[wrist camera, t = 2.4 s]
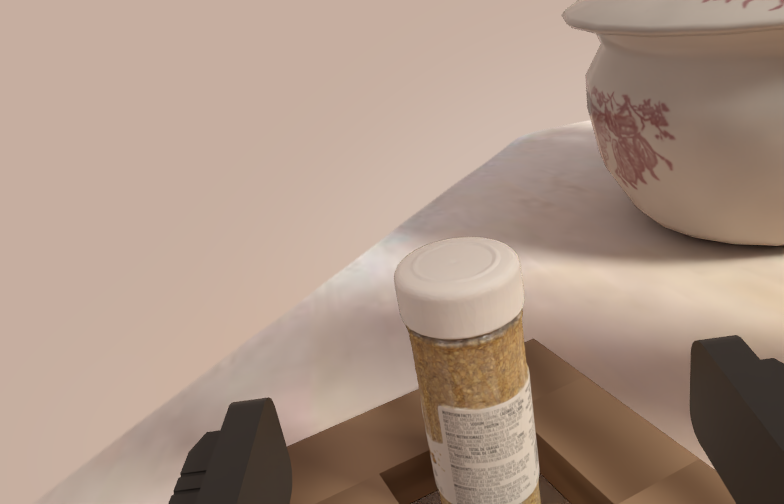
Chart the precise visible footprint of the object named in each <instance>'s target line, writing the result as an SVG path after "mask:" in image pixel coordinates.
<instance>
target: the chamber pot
mask: <svg viewBox="0 0 784 504" xmlns="http://www.w3.org/2000/svg"><path fill="white" fill-rule="evenodd" d="M562 17H563V19H564V20H565V22H566V23H567V24H568V25H569V26H571V27H572V28H575V29H579V30H584V31H587V32H592V33H596V34H597V36H598V39H599V41H600V43H601V45H600V46H599V49H598V51H597V53H596V55H595V57H594V59H593V61H592V63H591V65H590V67H589V69H588V71H587V73H586V91H587V108H588V112H589V115H590V119H591V123H592V126H593V130H594V134H595V137H596V141H597V145H598V148H599V152H600V154H601V157H602V159H603V161H604V164H605V166H606V168H607V169H608V170H609V172H610V173H611V174H612V176H613V177H614V178H615V180H616V181H617V182H618V184H619V185H620V186H621V188H622V189H623V190H624V192H625V193H626V194H627V196H628V197H629V198H630V200H631V201H632V202H633V204H634V205H635V206H636V207H637V208H638V209H639V210H641V211H642V212H643V213H644V214H646V215H647V216H649V217H650V218H651V219H653V220H654V221H656V222H657V223H659V224H660V225H662V226H663V227H665V228H668V229H671V230H674V231H677V232H680V233H683V234H685V235H688V236H691V237H694V238H700V239H706V240H712V241H718V242H724V243H730V244H745V245H772V246H780V245H784V0H578V1H576V2H575V3H574V4H572V5H571V6H570V7H569V8H567V9H566V10H565V11H564V12H563V14H562Z"/></svg>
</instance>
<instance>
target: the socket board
mask: <svg viewBox="0 0 784 504" xmlns="http://www.w3.org/2000/svg"><path fill="white" fill-rule="evenodd" d="M524 346H525V356H526V363H527V365H528V368H529V374H530V384H531V394H532V404H533V413H534V423H535V432H536V441H537V450H538V461H539V472H540V473H541V474H542V475H543V476H544V477H545V478H546V479H547V480H548V481H549V482H550V483H551V484H552V485H553V486H554V487H555V488H556V489H557V490H558V491H559V492H560V493H561V494H562V495H563V496H564V497H565V498H566V499H567V500H568V501H569V502H570V503H571V504H736V503H735V501H734V499H733V498H732V496H731V494H730V493H729V491H728V489H727V488H726V486H725V484H724V483H723V481H722V479H721V478H720V476H719V474H718V473H717V471H716V470H714V469H713V468H712V467H710V466H709V465H707V464H706V463H705V462H703V461H702V460H700V459H699V458H698V457H696V456H695V455H694V454H692V453H691V452H689V451H688V450H687V449H685V448H684V447H683V446H681V445H680V444H678V443H677V442H676V441H674V440H673V439H672V438H670V437H669V436H667V435H666V434H665V433H663V432H662V431H660V430H659V429H658V428H656V427H655V426H654V425H652V424H651V423H649V422H648V421H647V420H645V419H644V418H643V417H641V416H640V415H638V414H637V413H636V412H634V411H633V410H632V409H630V408H629V407H627V406H626V405H625V404H623V403H622V402H620V401H619V400H618V399H616V398H615V397H614V396H612V395H611V394H609V393H608V392H607V391H605V390H604V389H603V388H601V387H600V386H598V385H597V384H596V383H594V382H593V381H592V380H590V379H589V378H587V377H586V376H585V375H583V374H582V373H580V372H579V371H578V370H576V369H575V368H574V367H572V366H571V365H569V364H568V363H567V362H565V361H564V360H563V359H561V358H560V357H558V356H557V355H556V354H554V353H553V352H551V351H550V350H549V349H547V348H546V347H545V346H543V345H542V344H540V343H539V342H538V341H536V340H535V339H532V340H529V341H527V342H525V343H524ZM287 450H288V453H289V457H290V461H291V467H292V494H291V499H290V504H410V503H412V502H414V501H416V500H418V499H420V498H422V497H424V496H426V495H428V494H430V493H432V492H434V491H436V490H438V488H437V485H436V482H435V477H434V472H433V467H432V461H431V456H430V450H429V445H428V440H427V435H426V428H425V421H424V418H423V413H422V406H421V395H420V390H419V389H418V390H415V391H413V392H411V393H408V394H406V395H404V396H402V397H399V398H397V399H395V400H392V401H390V402H388V403H386V404H383V405H381V406H379V407H377V408H374V409H372V410H370V411H367V412H365V413H363V414H361V415H358V416H356V417H354V418H351V419H349V420H347V421H345V422H342V423H340V424H338V425H335V426H333V427H331V428H329V429H326V430H324V431H322V432H319V433H317V434H315V435H313V436H310V437H308V438H306V439H303V440H301V441H299V442H297V443H294V444H292V445H290V446H288V447H287Z"/></svg>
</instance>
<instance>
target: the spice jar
mask: <svg viewBox="0 0 784 504" xmlns="http://www.w3.org/2000/svg"><path fill="white" fill-rule="evenodd" d="M394 282H395V289H396V295H397V300H398V305H399V310H400V315H401V318H402V321H403V322H404V323H405V325H406V327H407V329H408V332H409V334H410V335H409V337H410V341H411V345H412V350H413V355H414V362H415V367H416V368H415V369H416V373H417V379H418V384H419V390H420V395H421V406H422V413H423V418H424V421H425V428H426V435H427V440H428V445H429V450H430V456H431V461H432V467H433V472H434V477H435V482H436V485H437V488H438V489H439V494H440V499H441V503H442V504H541V500H540V491H539V481H538V480H539V461H538V450H537V441H536V432H535V423H534V413H533V404H532V394H531V384H530V374H529V368H528V365H527V363H526V356H525V346H524V338H523V328H522V320H521V318H522V315H523V311H522V307H523V305H524V299H525V297H524V288H523V279H522V272H521V266H520V261H519V258H518V255H517V254H516V252H515V251H514V250H513V249H512V248H511V247H509V246H508V245H506V244H504V243H502V242H499V241H497V240H493V239H488V238H482V237H458V238H451V239H445V240H441V241H437V242H434V243H431V244H428V245H425V246H423V247H421V248H419V249H417V250H415V251H413V252H412V253H410V254H409V255H407V256H406V257H405V258H404V259H403V260H402V261H401V262H400V263H399V264H398V266H397V268H396V270H395V274H394Z"/></svg>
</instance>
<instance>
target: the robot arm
mask: <svg viewBox="0 0 784 504" xmlns="http://www.w3.org/2000/svg"><path fill="white" fill-rule="evenodd" d="M690 415H691V421H692V425H693V429H694V432H695V434H696V437H697V439H698V441H699V443H700V445H701V446H702V448H703V450H704V451H705V453H706V455H707V456H708V458H709V460H710V461H711V463H712V464H713V466H714V468H715V469H716V471H717V473H718V474H719V476H720V478H721V479H722V481H723V483H724V484H725V486H726V488H727V489H728V491H729V493H730V494H731V496H732V498H733V499H734V501H735V503H736V504H784V364H783V363H782V362H780V361H778V360H776V359H774V358H771V359H763V360H760V359H759V358H758V357H757V356H756V354H755V353H754V352H753V351H752V350H751V349H750V348H749V346H748V345H747V344H746V343H745V342H744V341H743V339H742V338H741V337H739V336H737V335H734V336H727V337H719V338H712V339H705V340H697V341H694V342H693V344H692V347H691V372H690ZM180 474H181V478H178V481H177V484H176V486H175V489H174V495H172V496H171V499H170V501H169V504H290V499H291V494H292V467H291V461H290V457H289V453H288V450H287V447H286V443H285V440H284V436H283V433H282V429H281V426H280V423H279V419H278V416H277V412H276V409H275V406H274V403H273V401H272V400H271V399H270V398H262V399H255V400H248V401H240V402H233V403H231V404H230V406H229V408H228V411H227V414H226V416H225V419H224V422H223V425H222V428H221V431H213V432H207V433H206V434H205V435H204V436H203V437H202V438H201V439H200V440H199V442H198V443H197V444H196V445H195V446H194V447H193V448H192V449H191V451H190V452H189V453H188V456H187V458H186V461H185V463H184V466H183V468H182V471H181V473H180Z"/></svg>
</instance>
